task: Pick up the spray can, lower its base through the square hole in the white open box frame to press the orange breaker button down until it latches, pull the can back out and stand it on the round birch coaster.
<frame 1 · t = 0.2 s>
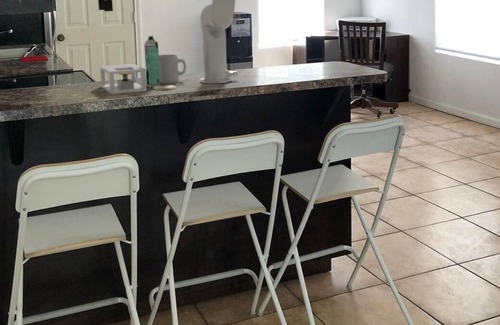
hand: (105, 10, 267), 31 cm above the table, fingers open, 9 cm apart
white open box frame: (123, 88, 277), on the table
spray can: (153, 85, 284), on the table
mug: (172, 82, 294), on the table
coaster: (164, 88, 277), on the table
breaker button: (125, 76, 272), point 5 cm above the table, slide at 0.0 cm
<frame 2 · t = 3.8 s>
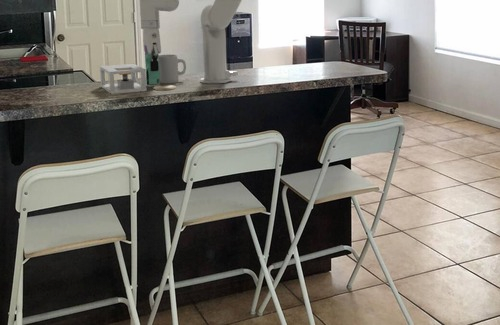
hand: (152, 69, 283), 6 cm above the table, fingers closed on spray can, 5 cm apart
spray can: (153, 85, 284), on the table, touching gripper
everything else where it was.
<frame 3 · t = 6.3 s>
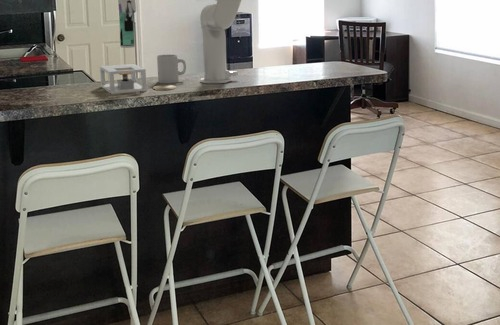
hand: (127, 30, 269), 23 cm above the table, fingers closed on spray can, 5 cm apart
spray can: (127, 47, 271), point 17 cm above the table, touching gripper
everything else where it was.
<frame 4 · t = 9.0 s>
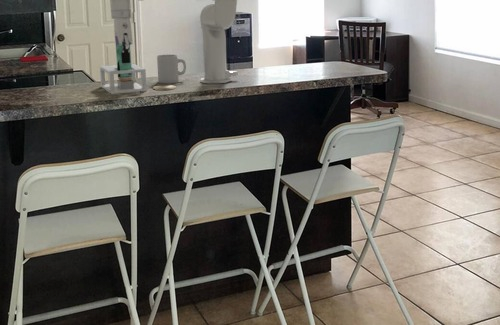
hand: (124, 61, 271), 11 cm above the table, fingers closed on spray can, 5 cm apart
spray can: (125, 78, 272), point 5 cm above the table, touching breaker button, gripper
breaker button: (125, 83, 273), point 3 cm above the table, slide at 2.5 cm, touching white open box frame, spray can
everything else where it was.
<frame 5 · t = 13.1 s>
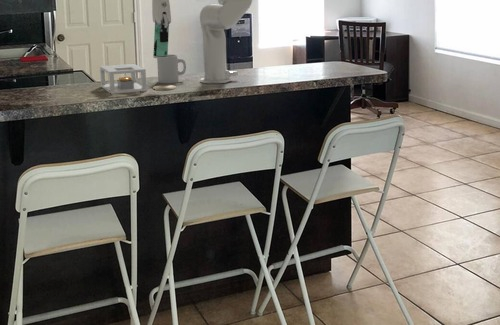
hand: (161, 40, 272), 19 cm above the table, fingers closed on spray can, 5 cm apart
spray can: (160, 58, 273), point 12 cm above the table, touching gripper
breaker button: (125, 83, 273), point 3 cm above the table, slide at 2.5 cm, touching white open box frame
everything else where it was.
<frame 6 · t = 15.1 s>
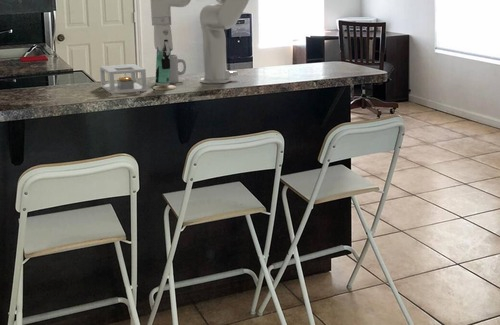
hand: (163, 67, 275), 8 cm above the table, fingers closed on spray can, 5 cm apart
spray can: (162, 84, 277), point 2 cm above the table, touching gripper
everything else where it was.
when the fingers open (8 cm above the table, at t = 15.3 s): spray can stays where it is, resting on coaster.
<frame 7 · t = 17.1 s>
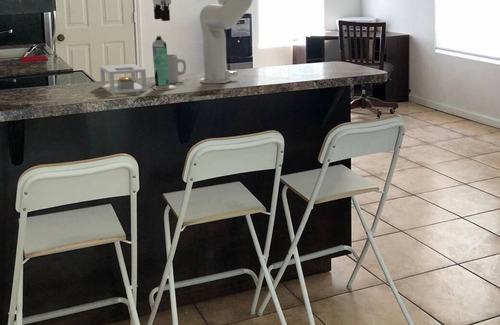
hand: (162, 19, 270), 27 cm above the table, fingers open, 9 cm apart
spray can: (162, 87, 277), point 1 cm above the table, touching coaster
everything else where it was.
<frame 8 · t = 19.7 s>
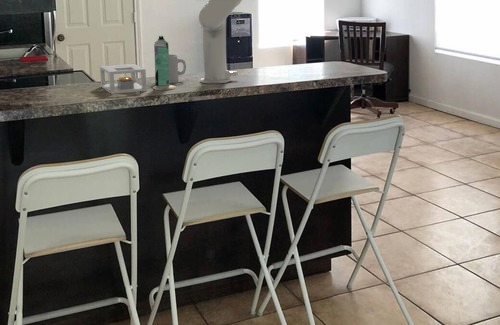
nothing on the table moved.
at the end: breaker button slide at 2.5 cm; spray can 0.8 cm from the coaster (horizontally); spray can tilted 2° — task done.
